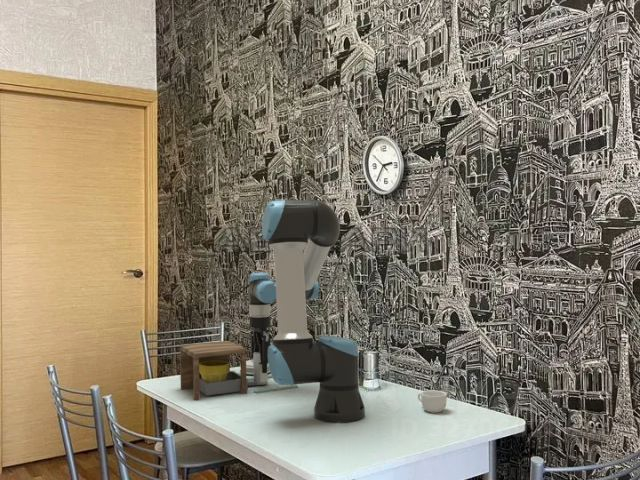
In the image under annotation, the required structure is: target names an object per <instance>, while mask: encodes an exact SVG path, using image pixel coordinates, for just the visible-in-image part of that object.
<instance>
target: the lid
mask: <svg viewBox="0 0 640 480" xmlns="http://www.w3.org/2000/svg"><path fill="white" fill-rule="evenodd" d="M239 366H240V367H241V364H239ZM267 369H268V373H271V372H270V368H269V363H268V364H267ZM239 372H240V373H241V369H240V371H239ZM246 375H254V367H253V359H249V360H246Z"/></svg>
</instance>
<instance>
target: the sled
mask: <svg viewBox="0 0 640 480" xmlns="http://www.w3.org/2000/svg"><path fill="white" fill-rule="evenodd" d="M252 360H253V367H254V374H253V377H254V380H248V379H247V378H248V377H246V387H247V391H249V390H248V389H249V387H250V386H261V385H268V382H269V381H268V382H260V364H259V363H261V360H260V352H254V353H253V358H252ZM199 392H201V393H203V394H204V395H205V396H215V395H221V394H222V395H223V394H229V393H230V394H231V393H235V392H237V393H238V392H241V373H238V372H236V371H235V370H230V371H229V372H228V373H227V376H226V381H220V382H212V383H208V382H206V381H205V380H203V379H202V376H201V375H199Z"/></svg>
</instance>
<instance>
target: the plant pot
mask: <svg viewBox="0 0 640 480" xmlns="http://www.w3.org/2000/svg"><path fill="white" fill-rule="evenodd" d="M228 372H229V362H227V361H220V360H214V361H204V362H201V363H200V364H199V373H200V374H201V376H202V379H203V380H205V381H206V382H208V383H212V382H220V381H226V376H227V373H228Z"/></svg>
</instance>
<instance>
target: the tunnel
mask: <svg viewBox="0 0 640 480" xmlns="http://www.w3.org/2000/svg"><path fill="white" fill-rule="evenodd" d="M236 354H237V355H239V354H240V356H239V358H240V364H241V366H240V370H241V372H240V375H241V391H240V394H241V395H247V392H248V390H247V387H246V378H247V374H246V361H247V348H246V347H244V346H241V345H239V344H237V343H234V342H232V341H230V340H222V341H212V342H200V343H192V344H191V343H190V344H189V343H188V344H181V345H179V358H180V359H179V360H180V361H179V366H180V367H179V369H180V370H179V371H180V374H179V375H180V378H179V379H180V389H181V390H189V389H193V400H194V401H195V400H196V401H200V390H199V375H201V374H200V373H199V364H200V363H201V362H204V361H214V360H220V361H227V362H229V371H231V367H230V365H231V364H230V363H231V360H230V359H231V358H230V355H236ZM240 364H239V365H240ZM188 388H189V389H188Z"/></svg>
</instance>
